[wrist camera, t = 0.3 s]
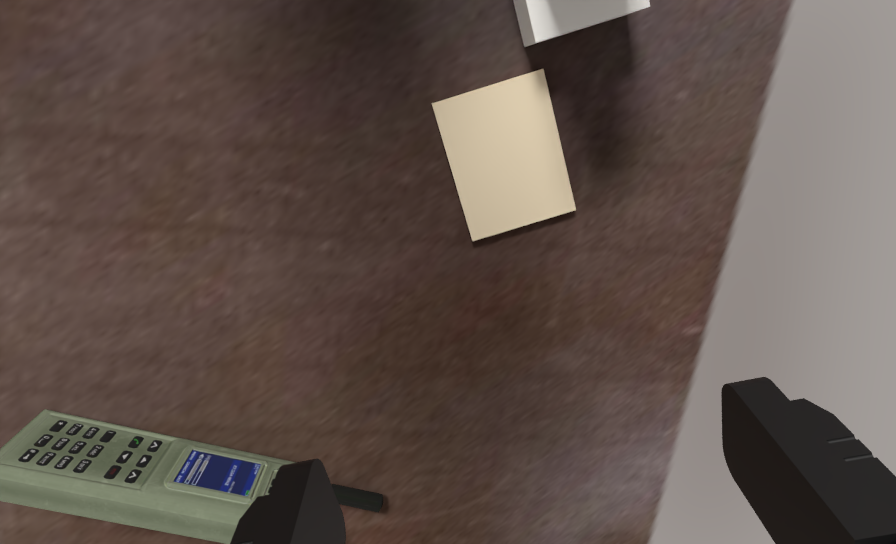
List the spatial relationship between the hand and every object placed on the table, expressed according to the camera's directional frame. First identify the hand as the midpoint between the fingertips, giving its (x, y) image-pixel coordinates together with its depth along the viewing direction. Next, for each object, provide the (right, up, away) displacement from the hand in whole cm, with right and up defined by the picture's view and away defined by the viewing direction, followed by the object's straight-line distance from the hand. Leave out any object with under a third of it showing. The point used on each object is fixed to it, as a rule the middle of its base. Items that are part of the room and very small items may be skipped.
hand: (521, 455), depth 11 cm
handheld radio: (-18, -10, +31) cm, 38 cm away
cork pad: (+2, +11, +25) cm, 27 cm away
